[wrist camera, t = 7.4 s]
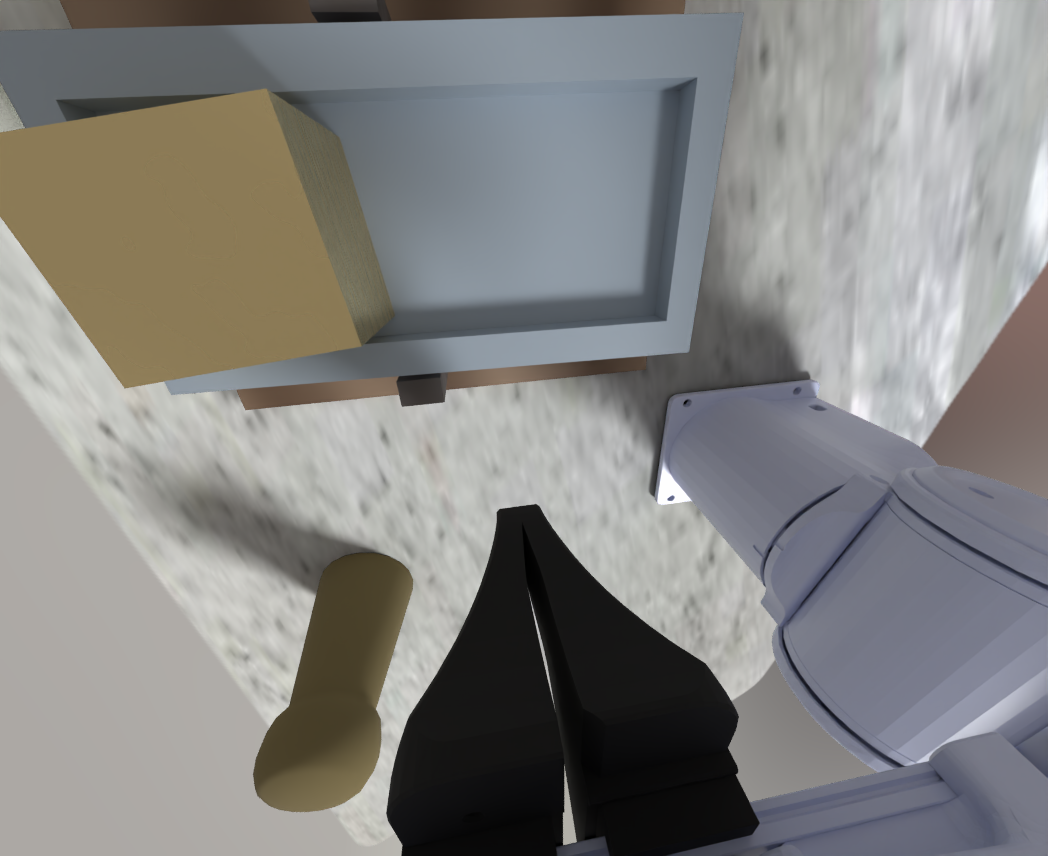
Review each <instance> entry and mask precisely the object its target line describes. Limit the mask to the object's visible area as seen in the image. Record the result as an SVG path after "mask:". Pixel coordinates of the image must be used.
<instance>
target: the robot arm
mask: <svg viewBox="0 0 1048 856" xmlns="http://www.w3.org/2000/svg"><path fill="white" fill-rule="evenodd" d="M819 387H820V384H819V383H818V382H817V381H815V380H802V381H792V382H783V383H774V384H765V385H756V386H747V387H738V388H728V389H719V390H710V391H701V392H692V393H683V394H676V395H674V396H672V397H671V398H670V399H669V402H668V408H667V414H666V421H665V428H664V435H663V442H662V449H661V456H660V463H659V470H658V477H657V483H656V490H655V500H656V502H657V503H658V504H660V505H665V504H672V503H679V502H686V501H692V502H693V503H694V504H695V505H696V506H697V507H698V509H699V510H700V511H701V512H702V513H703V514H704V516H705V517H706V518H707V519H708V520H709V521H710V523H711V524H712V525H713V526H714V527H715V528H716V530H717V531H718V532H719V533H720V534H721V535H722V537H723V538H724V539H725V540H726V541H727V542H728V544H729V545H730V546H731V547H732V548H733V550H734V551H735V552H736V553H737V554H738V555H739V557H740V558H741V559H742V560H743V561H744V562H745V564H746V565H747V566H748V567H749V568H750V569H751V571H752V572H753V573H754V574H755V575H756V576H757V578H758V579H759V580H760V581H761V582H762V583H763V585H764V586H765V587H766V592H765V595H764V597H763V599H762V600H761V604H762V605H763V607H764V608H765V609H766V610H767V612H768V613H769V614H770V615H771V617H772V618H773V619H774V620H775V621H776V623H777V624H778V625H777V626H776V628H775V630H774V632H773V636H772V647H773V653H774V656H775V659H776V662H777V665H778V667H779V669H780V671H781V673H782V675H783V677H784V679H785V680H786V682H787V683H788V685H789V687H790V688H791V690H792V692H793V693H794V694H795V696H796V697H797V698H798V700H799V701H800V702H801V704H802V705H803V706H804V708H805V709H806V710H807V711H808V713H809V714H810V715H811V716H812V717H813V718H814V720H815V721H816V722H817V723H818V724H819V725H820V726H821V727H822V728H823V729H824V730H825V731H826V732H827V733H828V734H829V735H830V736H831V737H833V738H834V739H835V740H836V741H837V742H838V743H839V744H841V745H842V746H843V747H844V748H845V749H846V750H848V751H849V752H850V753H852V754H853V755H854V756H855V757H857V758H858V759H859V760H861V761H862V762H863V763H865V764H866V765H868V766H869V767H871V768H872V769H874V770H875V771H877V772H878V773H874V774H870V775H866V776H861V777H857V778H853V779H848V780H844V781H840V782H836V783H831V784H827V785H823V786H819V787H814V788H809V789H805V790H801V791H796V792H792V793H788V794H784V795H779V796H775V797H771V798H766V799H762V800H757V801H753V802H749V800H748V798H747V796H746V794H745V792H744V791H743V789H742V787H741V785H740V783H739V781H738V779H737V777H736V775H735V774H737V773H738V768H737V765H736V763H735V761H734V759H733V757H732V755H731V753H730V751H729V749H728V746H729V744H730V742H731V740H732V737H733V735H734V733H735V731H736V727H737V722H738V718H739V716H738V714H737V711H736V709H735V707H734V705H733V704H732V702H731V700H730V698H729V696H728V695H727V693H726V692H725V690H724V689H723V687H722V686H721V684H720V683H719V681H718V680H717V679H716V677H715V676H714V674H713V673H712V672H711V670H710V669H709V668H708V666H707V665H706V664H705V663H704V662H702V661H701V660H699V659H698V658H696V657H694V656H693V655H691V654H690V653H688V652H687V651H685V650H683V649H682V648H680V647H679V646H677V645H676V644H674V643H673V642H671V641H670V640H668V639H667V638H666V637H664V636H663V635H661V634H660V633H659V632H657V631H656V630H654V629H653V628H652V627H650V626H649V625H648V624H646V623H645V622H644V621H643V620H641V619H640V618H639V617H638V616H636V615H635V614H634V613H633V612H631V611H630V610H629V609H628V608H626V607H625V606H624V605H623V604H622V603H620V602H619V601H618V600H617V599H616V598H615V597H614V596H613V595H612V594H610V593H609V592H608V591H607V590H606V589H605V588H604V587H603V586H602V585H601V584H600V583H599V582H598V581H597V580H596V579H595V578H594V577H593V576H592V575H591V574H590V573H589V572H588V571H587V570H586V569H585V568H584V567H583V565H582V564H581V563H580V562H579V561H578V560H577V559H576V558H575V556H574V555H573V554H572V553H571V552H570V550H569V549H568V548H567V547H566V545H565V544H564V543H563V541H562V540H561V539H560V538H559V536H558V535H557V534H556V532H555V531H554V529H553V528H552V526H551V525H550V523H549V522H548V520H547V519H546V517H545V516H544V514H543V512H542V510H541V508H540V507H539V506H538V505H537V504H534V505H526V506H519V507H511V508H504V509H499V510H498V511H497V524H496V531H495V536H494V541H493V545H492V549H491V553H490V557H489V561H488V564H487V567H486V570H485V573H484V576H483V579H482V582H481V585H480V588H479V590H478V593H477V595H476V598H475V600H474V603H473V605H472V607H471V610H470V612H469V614H468V616H467V618H466V620H465V623H464V625H463V627H462V629H461V631H460V633H459V635H458V637H457V639H456V641H455V643H454V644H453V646H452V648H451V650H450V652H449V653H448V655H447V657H446V659H445V660H444V662H443V664H442V666H441V667H440V669H439V671H438V673H437V674H436V676H435V678H434V679H433V681H432V682H431V684H430V685H429V687H428V689H427V690H426V692H425V693H424V695H423V696H422V698H421V699H420V701H419V702H418V704H417V705H416V707H415V708H414V710H413V711H412V713H411V714H410V716H409V718H408V721H407V723H406V726H405V729H404V732H403V735H402V738H401V741H400V744H399V748H398V751H397V755H396V759H395V763H394V767H393V772H392V776H391V783H390V790H389V798H388V805H387V812H386V814H387V818H388V822H389V823H390V825H391V827H392V828H393V830H394V832H395V833H396V835H397V837H398V838H399V840H400V841H401V843H402V845H403V846H402V856H1048V499H1046V498H1043V497H1041V496H1038V495H1036V494H1033V493H1031V492H1028V491H1025V490H1023V489H1020V488H1017V487H1014V486H1012V485H1009V484H1006V483H1003V482H1000V481H997V480H994V479H991V478H988V477H985V476H982V475H978V474H976V473H972V472H969V471H965V470H961V469H957V468H952V467H946V466H938V465H937V463H936V462H935V461H934V460H933V459H932V457H930V456H929V455H928V454H927V453H926V452H925V451H924V450H923V449H921V448H920V447H919V446H917V445H916V444H914V443H913V442H911V441H909V440H907V439H905V438H903V437H901V436H898V435H896V434H894V433H892V432H890V431H888V430H885V429H883V428H881V427H879V426H877V425H875V424H873V423H870V422H868V421H866V420H864V419H862V418H860V417H857V416H855V415H853V414H851V413H849V412H847V411H844V410H842V409H840V408H838V407H836V406H834V405H831V404H829V403H827V402H825V401H823V400H821V399H818V398H816V396H817V394H818V391H819ZM795 388H796V389H795ZM794 389H795V391H794ZM793 391H794V392H793ZM687 399H688V402H687V403H686V404H684V405H683V403H684V401H685V400H687ZM669 496H670V497H669ZM668 497H669V498H668ZM528 590H529V591H528ZM529 594H530V596H529ZM530 598H531V601H532V605H533V609H534V613H535V616H536V620H537V624H538V628H539V632H540V635H541V639H542V643H543V647H544V651H545V656H546V660H547V665H548V671H549V677H550V682H551V688H552V694H553V700H554V704H553V700H552V696H551V691H550V687H549V683H548V679H547V674H546V670H545V666H544V661H543V657H542V652H541V648H540V643H539V639H538V634H537V630H536V625H535V620H534V615H533V611H532V606H531V601H530ZM554 706H555V708H554ZM555 711H556V712H555ZM564 765H565V771H566V777H567V783H568V789H569V795H570V802H571V807H572V814H573V820H574V827H575V833H576V839H577V842H576V843H571V844H568V845H563V812H564Z"/></svg>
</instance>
